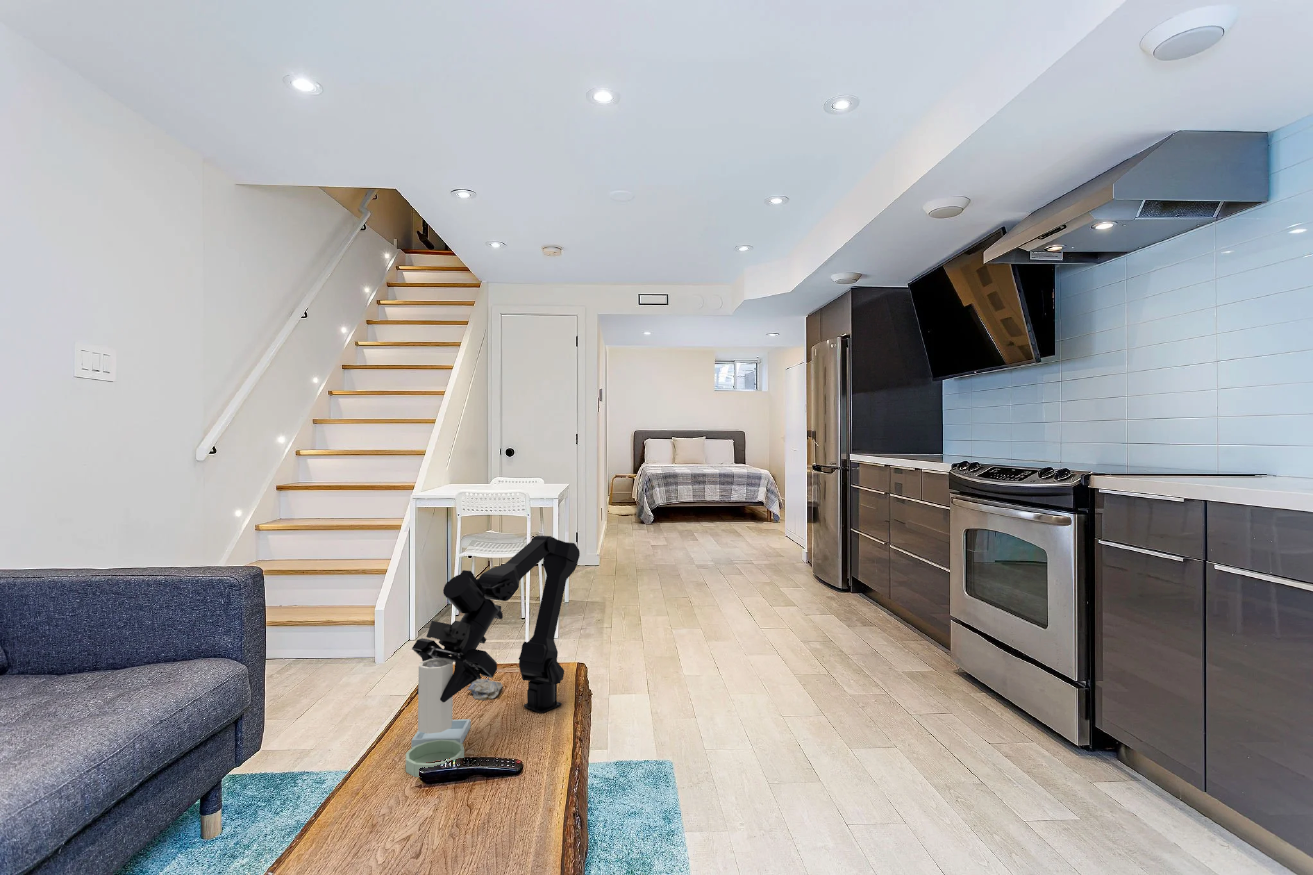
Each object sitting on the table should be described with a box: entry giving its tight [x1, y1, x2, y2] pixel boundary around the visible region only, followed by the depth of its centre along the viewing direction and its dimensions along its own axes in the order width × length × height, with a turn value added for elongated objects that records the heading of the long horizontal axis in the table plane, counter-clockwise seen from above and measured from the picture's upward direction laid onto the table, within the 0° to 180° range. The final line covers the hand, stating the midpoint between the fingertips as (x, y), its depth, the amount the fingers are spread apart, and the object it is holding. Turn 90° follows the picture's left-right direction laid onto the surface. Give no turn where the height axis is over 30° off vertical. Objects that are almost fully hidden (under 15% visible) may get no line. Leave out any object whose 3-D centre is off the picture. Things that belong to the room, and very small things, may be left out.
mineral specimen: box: [466, 677, 504, 701], centre depth 162 cm, size 15×8×4 cm, turn 12°
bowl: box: [405, 740, 465, 778], centre depth 123 cm, size 10×10×3 cm
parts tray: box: [410, 718, 472, 749], centre depth 134 cm, size 10×10×2 cm
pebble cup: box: [417, 658, 454, 734], centre depth 124 cm, size 6×6×12 cm
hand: (429, 697), depth 122 cm, fingers closed on pebble cup, 6 cm apart
